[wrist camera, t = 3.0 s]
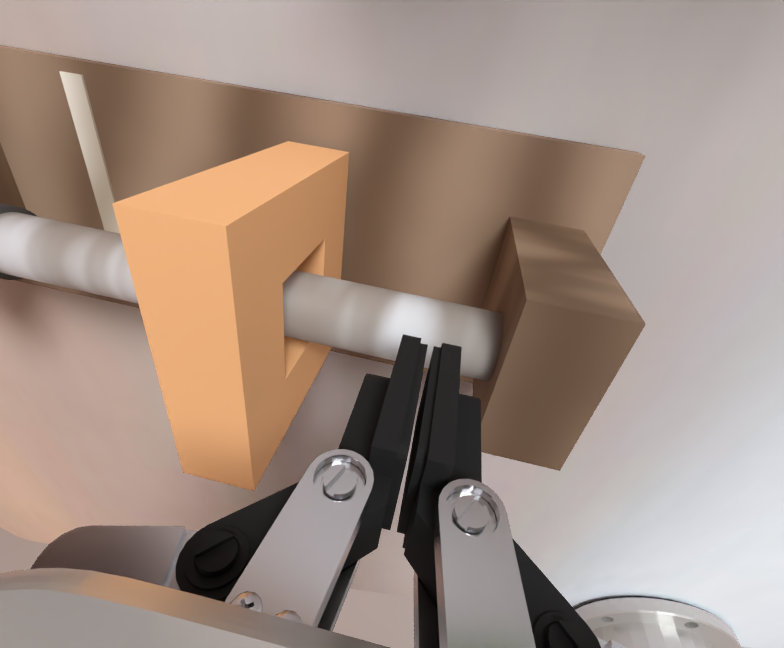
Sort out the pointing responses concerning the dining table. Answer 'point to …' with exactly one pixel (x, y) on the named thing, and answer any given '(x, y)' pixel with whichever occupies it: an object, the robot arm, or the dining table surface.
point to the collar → (234, 297)
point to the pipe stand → (348, 227)
